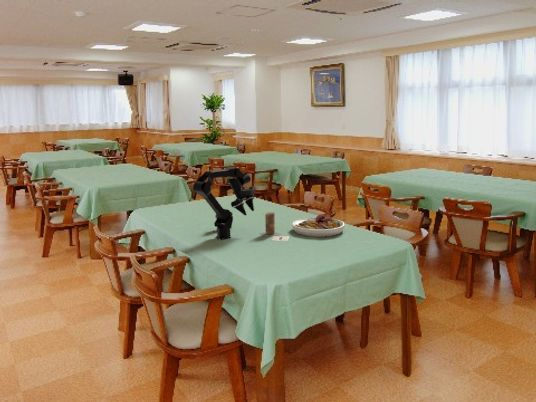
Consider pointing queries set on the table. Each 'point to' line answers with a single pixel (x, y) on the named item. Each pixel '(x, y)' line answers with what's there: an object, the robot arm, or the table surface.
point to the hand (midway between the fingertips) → (249, 213)
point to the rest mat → (269, 235)
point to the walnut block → (270, 223)
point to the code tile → (280, 238)
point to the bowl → (318, 226)
